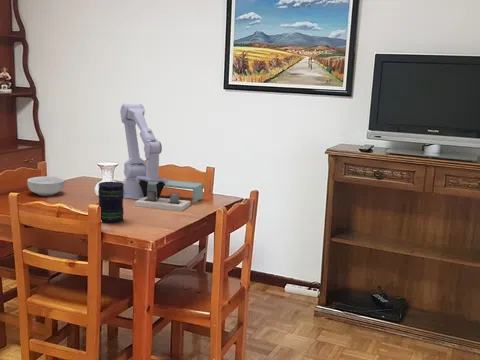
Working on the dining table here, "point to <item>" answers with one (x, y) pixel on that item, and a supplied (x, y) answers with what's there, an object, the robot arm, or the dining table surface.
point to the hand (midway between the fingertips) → (151, 197)
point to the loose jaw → (151, 196)
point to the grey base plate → (163, 204)
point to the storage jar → (111, 202)
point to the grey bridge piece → (194, 186)
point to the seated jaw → (174, 198)
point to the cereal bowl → (46, 185)
